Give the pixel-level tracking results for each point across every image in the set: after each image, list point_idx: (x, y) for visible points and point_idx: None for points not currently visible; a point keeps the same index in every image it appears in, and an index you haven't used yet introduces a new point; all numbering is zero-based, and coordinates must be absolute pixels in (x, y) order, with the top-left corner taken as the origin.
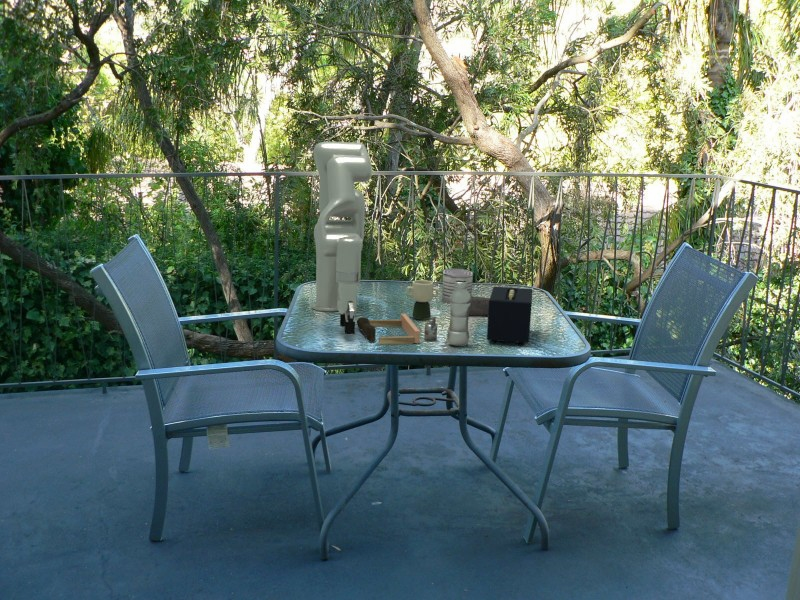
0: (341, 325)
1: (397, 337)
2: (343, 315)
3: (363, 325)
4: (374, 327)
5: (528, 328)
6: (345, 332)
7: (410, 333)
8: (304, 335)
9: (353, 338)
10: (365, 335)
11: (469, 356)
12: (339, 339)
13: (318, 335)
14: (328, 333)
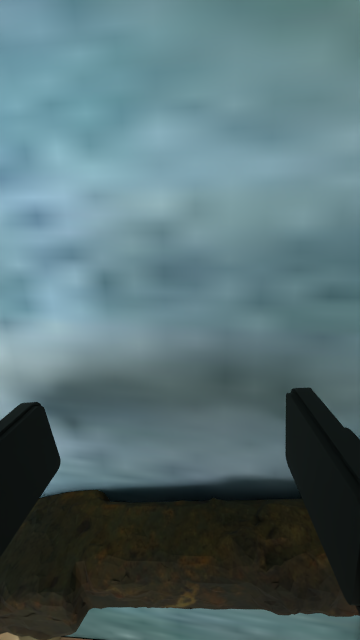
0: (290, 401)
1: (1, 636)
2: (354, 531)
3: (191, 564)
4: (19, 634)
5: None
6: (17, 414)
7: None
8: (150, 4)
9: (96, 428)
10: (109, 504)
11: None
12: (58, 344)
13: (158, 174)
14: (226, 268)
